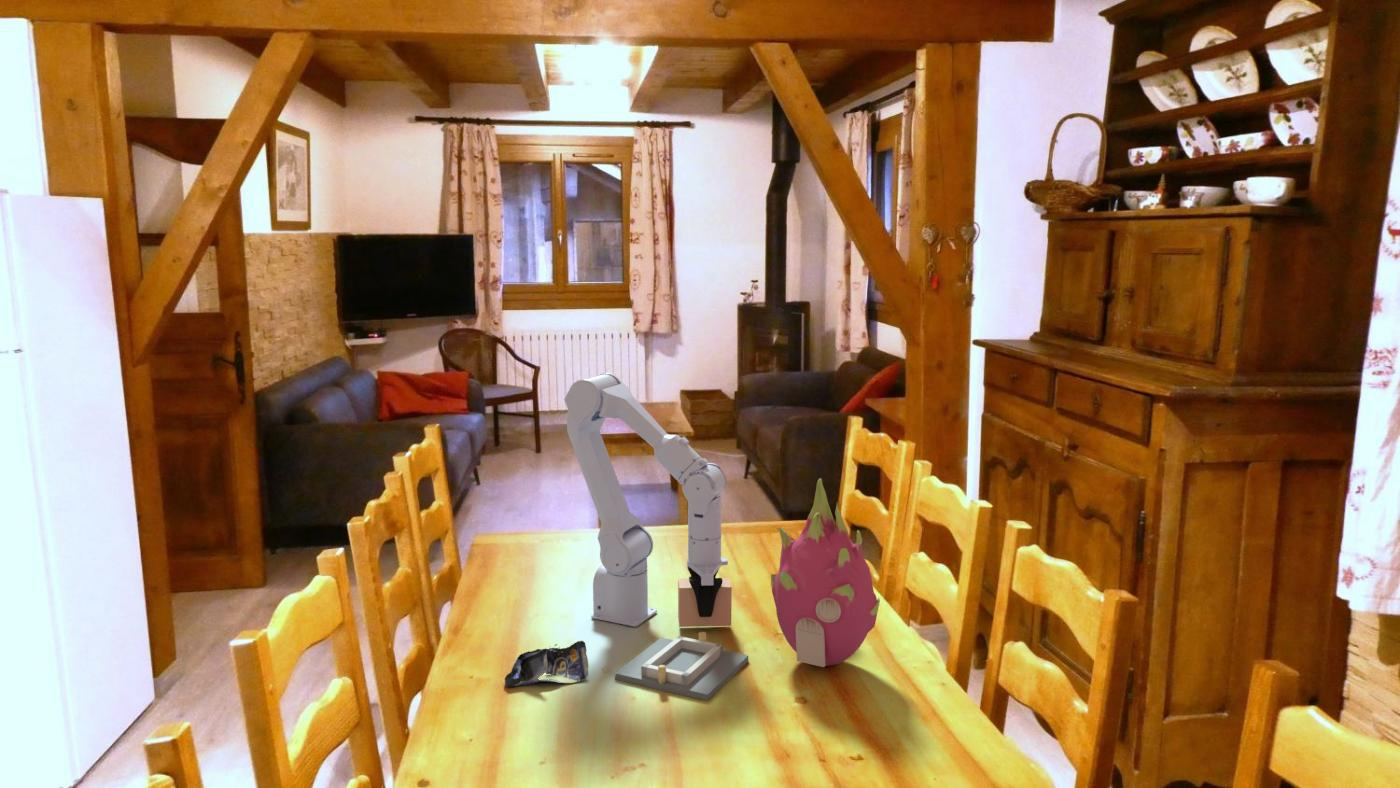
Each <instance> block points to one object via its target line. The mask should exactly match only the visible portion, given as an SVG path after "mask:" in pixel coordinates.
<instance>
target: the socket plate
mask: <svg viewBox="0 0 1400 788" xmlns="http://www.w3.org/2000/svg"><path fill="white" fill-rule="evenodd" d="M723 648H724V646H723V644H719V643H715V642H711V641H710V642H709V641H707V632H705V631H699V632H698V639H695V638H690V637H685V636H680V635H678V636H677V637H675V639H669V638H667V637H660V638H659V639H657V640H656V641H655V642H653V643H652V644H651V645H650V646H648V647H647V648H646V649H644V650H643V651H641V653H640V654H638V655H636V657H634V658H633V659H631V661H629V662H628V663H626V664H624V666H622V667H621V668H620V669H619V670H617V671H616V672H615V673H614V680H617V681H621V682H625V683H630V684H632V685H633V684H634V685H637V686H642V687H646V688H649V689H650V688H651V689H655V690H658V691H659V690H660V691H664V692H667V693H672V694H676V695H680V696H685V697H690V698H694V699H697V700H702V701H706V702H708V701H709V700H710V699H711V698H712V697H714V696H715V695H716V693H717V692H719V691H720V690H721V689H722V688H723V686H724V685H726V684H727V683H728V682H729V681H730V680H731V679H732V678H733V677H734V676H735V675H736V674H737V673H738V672H739V671H740V670H741V669H742V668H743V667H744V666H745V665H746V664H747V663H748V662H749V655H748V654H742V653H737V652H732V651H730V650H724V649H723Z"/></svg>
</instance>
